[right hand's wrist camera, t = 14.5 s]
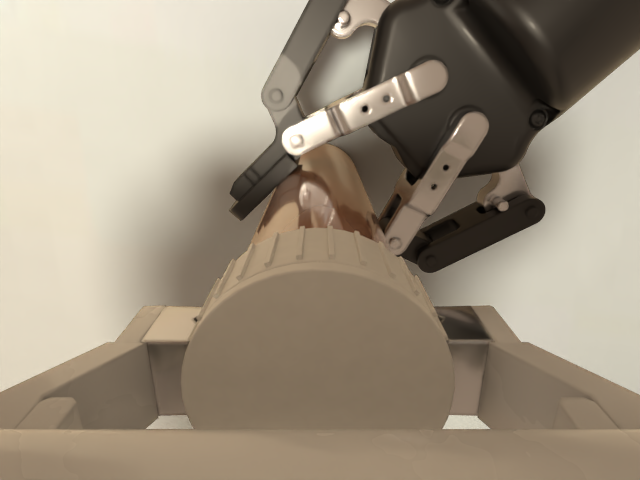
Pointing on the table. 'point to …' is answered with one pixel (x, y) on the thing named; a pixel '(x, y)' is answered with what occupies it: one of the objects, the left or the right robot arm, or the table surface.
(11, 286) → the table surface
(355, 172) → the tan tall cylinder
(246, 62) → the table surface
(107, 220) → the table surface
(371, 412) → the lid
